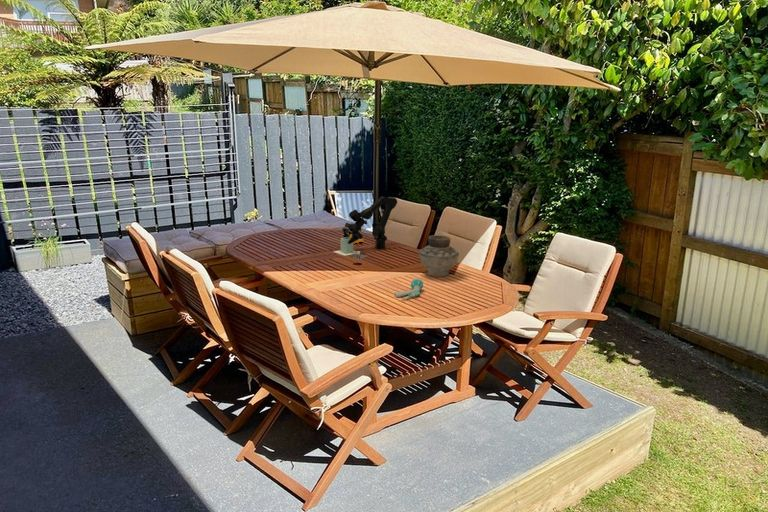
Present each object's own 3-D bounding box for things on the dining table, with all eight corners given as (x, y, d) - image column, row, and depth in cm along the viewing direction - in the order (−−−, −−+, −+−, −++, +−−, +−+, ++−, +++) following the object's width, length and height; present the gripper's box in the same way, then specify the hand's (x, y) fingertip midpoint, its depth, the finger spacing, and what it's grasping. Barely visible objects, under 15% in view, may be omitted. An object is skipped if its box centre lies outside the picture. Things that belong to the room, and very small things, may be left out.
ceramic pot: (435, 266, 390) (437, 231, 384) (465, 274, 373) (467, 237, 367) (410, 273, 373) (410, 236, 367) (440, 282, 356) (441, 243, 350)
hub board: (349, 250, 428) (349, 244, 427) (360, 254, 417) (360, 247, 416) (333, 253, 419) (333, 246, 418) (344, 257, 409) (344, 250, 408)
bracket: (364, 243, 451) (364, 228, 448) (356, 244, 447) (356, 229, 444) (355, 240, 460) (355, 225, 457) (348, 241, 455) (348, 226, 452)
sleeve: (347, 250, 422) (347, 236, 420) (353, 252, 418) (353, 238, 415) (340, 251, 418) (340, 238, 416) (345, 253, 414) (345, 239, 411)
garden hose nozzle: (400, 294, 320) (433, 287, 327) (388, 282, 336) (420, 276, 342) (400, 306, 323) (434, 299, 329) (389, 294, 338) (421, 287, 345)
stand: (355, 255, 414) (355, 248, 413) (368, 257, 410) (368, 250, 409) (348, 259, 405) (348, 252, 404) (361, 260, 401) (361, 253, 400)
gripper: (343, 216, 421) (331, 233, 418) (359, 220, 407) (346, 238, 404) (352, 225, 428) (340, 242, 424) (368, 230, 414) (355, 247, 410)
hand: (345, 242), depth 415 cm, fingers open, 7 cm apart
